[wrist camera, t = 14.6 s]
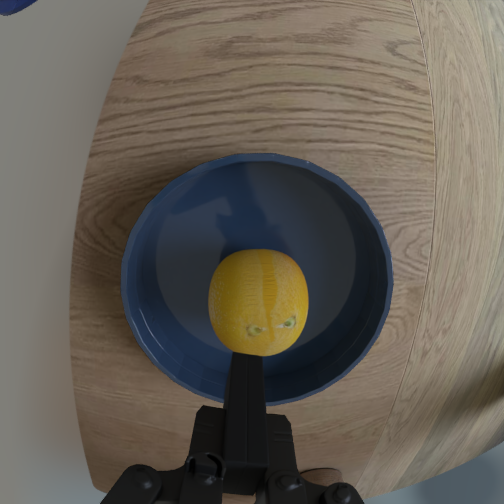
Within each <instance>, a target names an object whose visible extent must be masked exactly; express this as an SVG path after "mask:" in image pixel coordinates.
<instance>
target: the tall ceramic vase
mask: <svg viewBox="0 0 504 504" xmlns="http://www.w3.org/2000/svg"><path fill="white" fill-rule="evenodd" d="M300 475H301V476H302V477H303V478H304V479H305V480H307V481H309V482H311V483H314V484H319V485H323V486H329V485H331V484H333V483H336V482H344V480H343V477H342V474H341V472H339V471H338V470H335V469H328V468H325V469H315V470H310V471H307V472H304V473H301V474H300Z"/></svg>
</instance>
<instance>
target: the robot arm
mask: <svg viewBox="0 0 504 504" xmlns="http://www.w3.org/2000/svg"><path fill="white" fill-rule="evenodd" d="M255 492H256V501H255V503H254V504H364V502H363V500H362V499H361V497H360V495H359V494H358V492H357V490H356V489H355V488H354V487H353V486H352V485H350V484H348V483H344V482H336V483H333V484H331V485H329V486H323V485H319V484H314V483H311V482H309V481H307V480H305V479H304V478H303V477H302V476H301V475H300V474H299V472H298V469H297V464H296V457H295V450H294V443H293V436H292V430H291V423H290V422H289V421H288V419H287V418H286V416H285V415H278V414H267V413H266V401H265V385H264V370H263V356H258V355H251V354H245V353H239V352H233V353H232V358H231V363H230V368H229V373H228V378H227V383H226V388H225V395H224V405H223V409H222V408H216V407H210V406H205V405H203V406H202V407H201V408H200V409H199V411H198V412H197V413H196V418H195V424H194V428H193V434H192V439H191V444H190V449H189V455H188V456H187V459H186V461H185V464H184V465H183V466H182V467H180V468H178V469H175V470H170V471H156V470H155V469H153V468H152V467H150V466H147V465H140V464H136V465H133V466H130V467H128V468H127V469H126V470H125V471H124V472H123V474H122V475H121V476H120V478H119V479H118V480H117V482H116V483H115V484H114V486H113V487H112V488H111V490H110V491H109V492H108V494H107V495H106V496H105V498H104V499H103V500H102V502H101V503H100V504H222V493H229V494H239V495H252V496H253V495H254V494H255Z"/></svg>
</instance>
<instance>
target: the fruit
mask: <svg viewBox="0 0 504 504" xmlns="http://www.w3.org/2000/svg"><path fill="white" fill-rule="evenodd" d="M208 308H209V316H210V320H211V324H212V327H213V329H214V331H215V333H216V335H217V337H218V338H219V340H220V341H221V342H222V343H223V344H224V345H225V346H226V347H227V348H229V349H230V350H232V351H234V352H239V353H245V354H251V355H258V356H270V355H275V354H278V353H280V352H282V351H284V350H286V349H287V348H289V347H290V346H291V345H292V344H293V343H294V342H295V341H296V340H297V339H298V337H299V336H300V334H301V332H302V330H303V328H304V325H305V322H306V319H307V314H308V289H307V284H306V280H305V277H304V275H303V273H302V271H301V269H300V267H299V266H298V265H297V263H296V262H295V261H294V260H293V259H292V258H291V257H289V256H288V255H286V254H284V253H282V252H279V251H275V250H269V249H248V250H241V251H238V252H235V253H233V254H231V255H229V256H228V257H226V258H225V259H224V260H223V261H222V262H221V263H220V264H219V266H218V267H217V269H216V270H215V272H214V274H213V277H212V280H211V283H210V288H209V297H208Z"/></svg>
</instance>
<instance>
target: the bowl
mask: <svg viewBox="0 0 504 504" xmlns="http://www.w3.org/2000/svg"><path fill="white" fill-rule="evenodd" d="M248 249H269V250H275V251H279V252H282V253H284V254H286V255H288V256H289V257H291V258H292V259H293V260H294V261H295V262H296V263H297V265H298V266H299V267H300V269H301V271H302V273H303V275H304V277H305V280H306V284H307V289H308V314H307V319H306V322H305V325H304V328H303V330H302V332H301V334H300V336H299V337H298V339H297V340H296V341H295V342H294V343H293V344H292V345H291V346H290V347H289V348H287V349H286V350H284V351H282V352H280V353H278V354H275V355H270V356H263V370H264V385H265V401H266V406H275V405H280V404H285V403H290V402H294V401H298V400H301V399H304V398H306V397H309V396H311V395H314V394H316V393H318V392H321V391H323V390H325V389H326V388H328V387H329V386H331V385H332V384H334V383H336V382H337V381H339V380H340V379H342V378H343V377H345V376H346V375H347V374H348V373H349V372H350V371H351V370H352V369H353V368H354V367H355V366H356V365H357V364H358V363H359V362H360V361H361V360H362V359H363V358H364V357H365V356H366V354H367V353H368V351H369V350H370V349H371V347H372V346H373V344H374V343H375V341H376V340H377V338H378V337H379V335H380V333H381V330H382V328H383V325H384V323H385V320H386V318H387V315H388V313H389V310H390V304H391V298H392V291H393V285H394V283H393V282H394V280H393V267H392V256H391V251H390V248H389V245H388V242H387V240H386V237H385V234H384V231H383V228H382V226H381V224H380V222H379V221H378V219H377V218H376V216H375V215H374V213H373V212H372V210H371V209H370V207H369V206H368V204H367V203H366V201H365V200H364V199H363V198H362V197H361V196H360V195H359V194H358V193H357V192H356V191H355V190H353V189H352V188H351V187H350V186H349V185H348V184H347V183H346V182H344V181H343V180H342V179H341V178H339V177H338V176H336V175H335V174H333V173H331V172H329V171H327V170H325V169H323V168H321V167H319V166H317V165H315V164H313V163H311V162H308V161H306V160H302V159H298V158H293V157H289V156H285V155H280V154H276V153H248V154H234V155H231V156H227V157H223V158H219V159H216V160H212V161H209V162H205V163H202V164H200V165H198V166H196V167H195V168H193V169H191V170H189V171H188V172H186V173H184V174H182V175H181V176H179V177H177V178H175V179H174V180H172V181H171V182H170V183H169V184H167V185H166V186H165V187H164V188H163V189H162V190H161V191H160V192H159V193H158V194H157V195H156V196H155V197H154V198H153V199H152V200H151V201H150V202H149V203H148V204H147V205H146V207H145V208H144V210H143V212H142V213H141V215H140V217H139V218H138V220H137V222H136V223H135V225H134V227H133V228H132V230H131V232H130V234H129V238H128V241H127V244H126V248H125V251H124V254H123V258H122V263H121V287H120V290H121V296H122V301H123V306H124V311H125V316H126V319H127V321H128V323H129V326H130V328H131V330H132V332H133V334H134V336H135V339H136V341H137V342H138V344H139V346H140V347H141V348H142V350H143V351H144V352H145V354H146V355H147V356H148V357H149V359H150V360H151V361H152V363H153V364H154V365H155V366H157V367H158V368H159V369H160V370H161V371H162V372H163V373H164V374H166V375H167V376H168V377H169V378H170V379H171V380H173V381H174V382H175V383H177V384H179V385H181V386H182V387H184V388H186V389H188V390H189V391H191V392H193V393H195V394H197V395H200V396H203V397H205V398H208V399H211V400H214V401H217V402H220V403H224V395H225V388H226V383H227V378H228V373H229V368H230V363H231V358H232V353H233V352H234V351H232V350H230V349H229V348H227V347H226V346H225V345H224V344H223V343H222V342H221V341H220V340H219V338H218V337H217V335H216V333H215V331H214V329H213V327H212V324H211V320H210V316H209V308H208V297H209V288H210V283H211V280H212V277H213V274H214V272H215V270H216V269H217V267H218V266H219V264H220V263H221V262H222V261H223V260H224V259H225V258H226V257H228V256H229V255H231V254H233V253H235V252H238V251H241V250H248Z"/></svg>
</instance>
